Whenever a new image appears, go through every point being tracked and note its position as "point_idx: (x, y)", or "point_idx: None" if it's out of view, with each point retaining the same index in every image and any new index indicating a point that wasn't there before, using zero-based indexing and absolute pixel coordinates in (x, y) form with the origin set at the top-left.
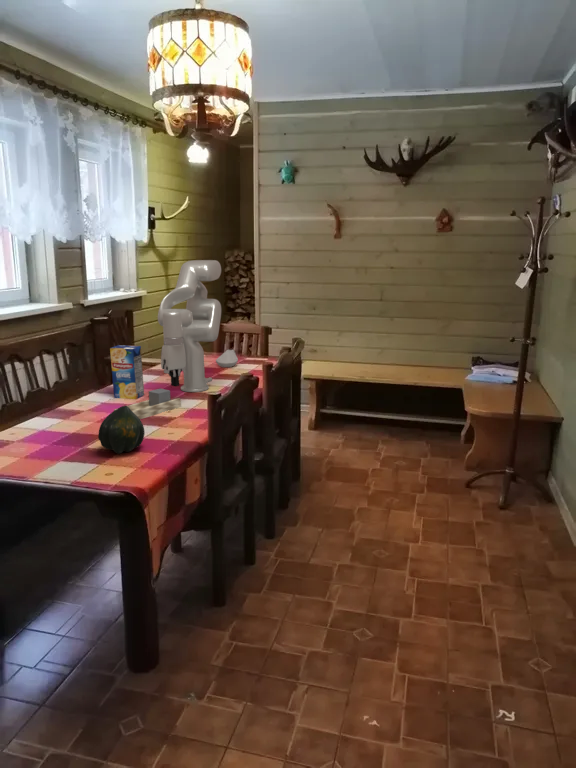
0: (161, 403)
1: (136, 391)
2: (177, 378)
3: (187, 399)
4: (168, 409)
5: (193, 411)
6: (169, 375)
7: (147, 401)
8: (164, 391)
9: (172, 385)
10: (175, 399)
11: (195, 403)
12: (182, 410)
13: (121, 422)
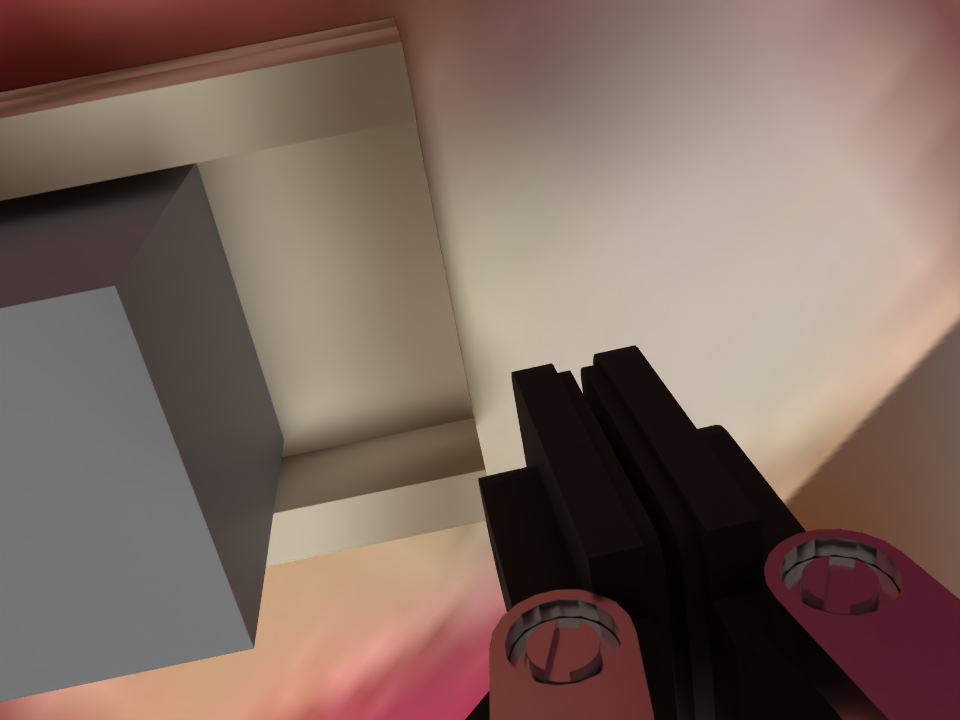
0: None
1: None
2: (679, 713)
3: (879, 79)
4: None
5: (469, 708)
6: (493, 651)
7: None
8: (85, 646)
9: (520, 419)
10: (380, 514)
11: (769, 407)
12: (378, 594)
13: None
